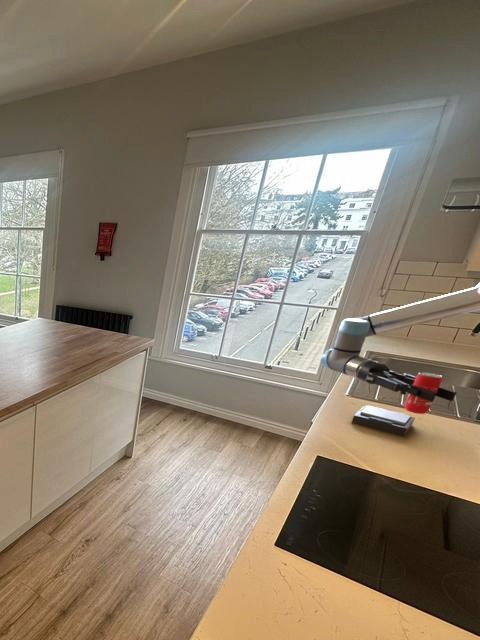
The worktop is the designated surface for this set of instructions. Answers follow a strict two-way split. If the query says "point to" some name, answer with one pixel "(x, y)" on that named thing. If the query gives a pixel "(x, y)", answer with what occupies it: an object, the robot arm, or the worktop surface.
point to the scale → (383, 420)
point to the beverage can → (426, 382)
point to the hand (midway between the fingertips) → (443, 396)
